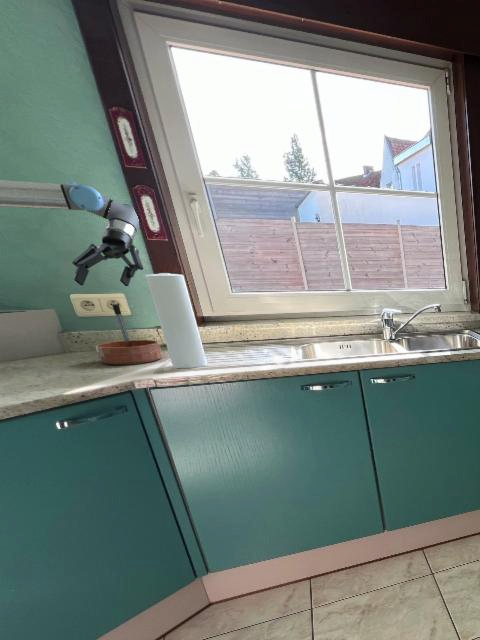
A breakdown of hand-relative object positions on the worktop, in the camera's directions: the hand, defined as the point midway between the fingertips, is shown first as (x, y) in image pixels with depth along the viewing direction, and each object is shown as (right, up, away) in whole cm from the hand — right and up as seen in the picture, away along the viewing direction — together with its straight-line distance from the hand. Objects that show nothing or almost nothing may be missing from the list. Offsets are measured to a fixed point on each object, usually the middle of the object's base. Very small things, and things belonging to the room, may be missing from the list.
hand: (101, 283), depth 168 cm
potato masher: (+6, -25, +5) cm, 26 cm away
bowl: (+6, -26, +5) cm, 27 cm away
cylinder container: (+30, -28, +1) cm, 41 cm away
